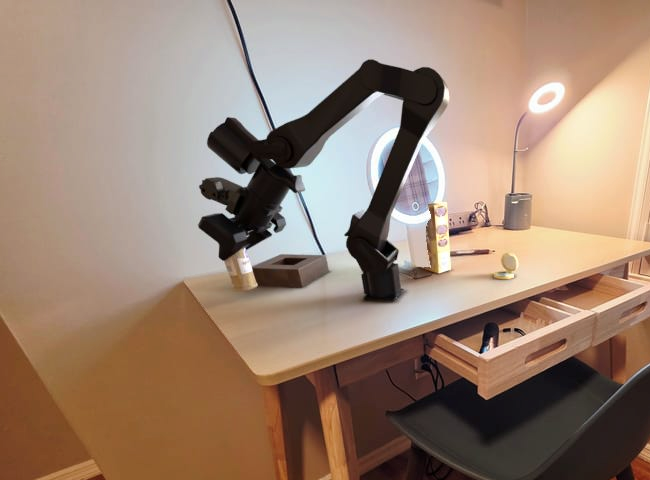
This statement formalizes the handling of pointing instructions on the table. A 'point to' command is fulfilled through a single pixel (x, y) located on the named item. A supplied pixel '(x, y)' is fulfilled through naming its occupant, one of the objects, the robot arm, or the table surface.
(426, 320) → the table surface
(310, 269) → the holder
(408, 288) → the table surface
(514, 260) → the eyeshadow
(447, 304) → the table surface
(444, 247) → the candy box
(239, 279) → the sprinkles bottle
